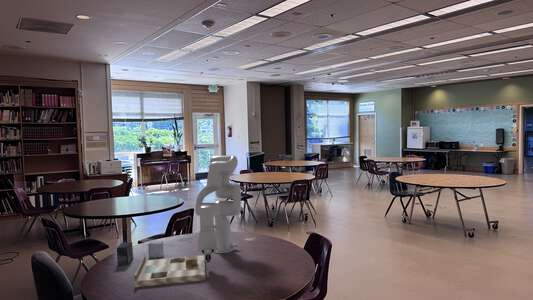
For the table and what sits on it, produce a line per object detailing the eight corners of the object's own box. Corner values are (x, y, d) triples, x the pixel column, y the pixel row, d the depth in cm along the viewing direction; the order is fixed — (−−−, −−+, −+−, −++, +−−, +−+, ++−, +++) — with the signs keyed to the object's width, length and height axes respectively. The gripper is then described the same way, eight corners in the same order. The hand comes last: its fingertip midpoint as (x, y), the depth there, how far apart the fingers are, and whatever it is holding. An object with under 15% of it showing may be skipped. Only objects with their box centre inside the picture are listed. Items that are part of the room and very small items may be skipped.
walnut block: (197, 262, 200) (197, 255, 200) (197, 266, 194) (196, 259, 194) (186, 263, 199) (185, 256, 199) (185, 267, 193) (185, 260, 193)
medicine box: (163, 255, 224) (163, 241, 224) (161, 257, 220) (160, 243, 219) (151, 255, 225) (150, 241, 225) (148, 257, 221) (147, 243, 220)
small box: (122, 259, 219) (121, 242, 219) (133, 258, 220) (132, 241, 219) (116, 265, 209) (115, 247, 208) (128, 264, 209) (127, 246, 209)
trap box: (204, 260, 213) (204, 250, 213) (205, 280, 183) (204, 268, 183) (144, 265, 207) (143, 255, 206) (134, 287, 177) (134, 275, 177)
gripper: (220, 225, 202) (221, 258, 203) (193, 227, 200) (194, 260, 200) (221, 228, 195) (222, 262, 196) (192, 231, 192) (194, 265, 193)
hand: (208, 261), depth 198 cm, fingers closed
